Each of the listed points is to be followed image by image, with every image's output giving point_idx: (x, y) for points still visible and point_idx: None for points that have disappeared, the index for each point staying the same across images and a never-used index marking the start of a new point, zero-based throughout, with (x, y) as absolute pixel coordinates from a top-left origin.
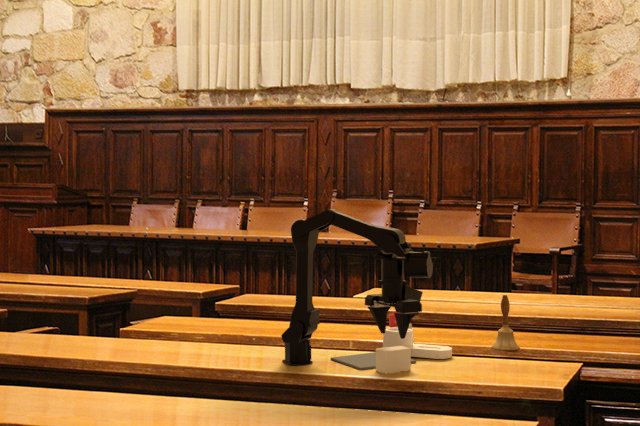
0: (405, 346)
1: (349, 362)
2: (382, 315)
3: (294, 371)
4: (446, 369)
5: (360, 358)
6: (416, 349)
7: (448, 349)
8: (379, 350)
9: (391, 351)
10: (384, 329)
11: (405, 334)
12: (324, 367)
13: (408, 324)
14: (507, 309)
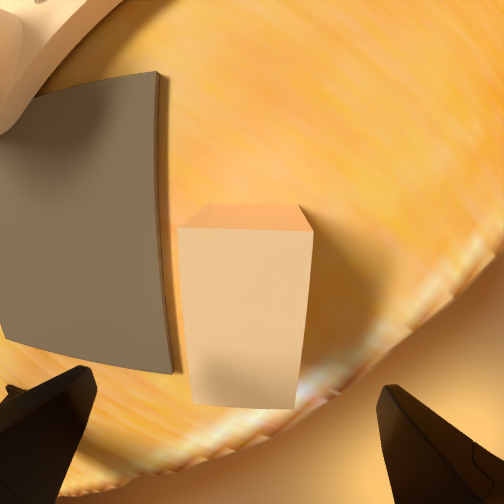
0: (18, 58)
1: (74, 347)
2: (10, 479)
3: (125, 467)
4: (369, 46)
5: (26, 273)
6: (69, 21)
7: None
8: (232, 403)
9: (297, 374)
10: (78, 389)
11: (415, 404)
12: (97, 411)
13: (483, 459)
14: None
